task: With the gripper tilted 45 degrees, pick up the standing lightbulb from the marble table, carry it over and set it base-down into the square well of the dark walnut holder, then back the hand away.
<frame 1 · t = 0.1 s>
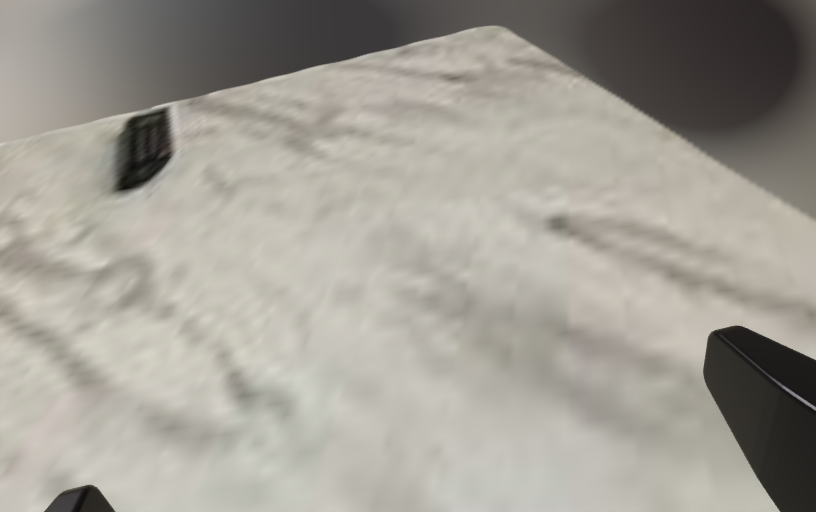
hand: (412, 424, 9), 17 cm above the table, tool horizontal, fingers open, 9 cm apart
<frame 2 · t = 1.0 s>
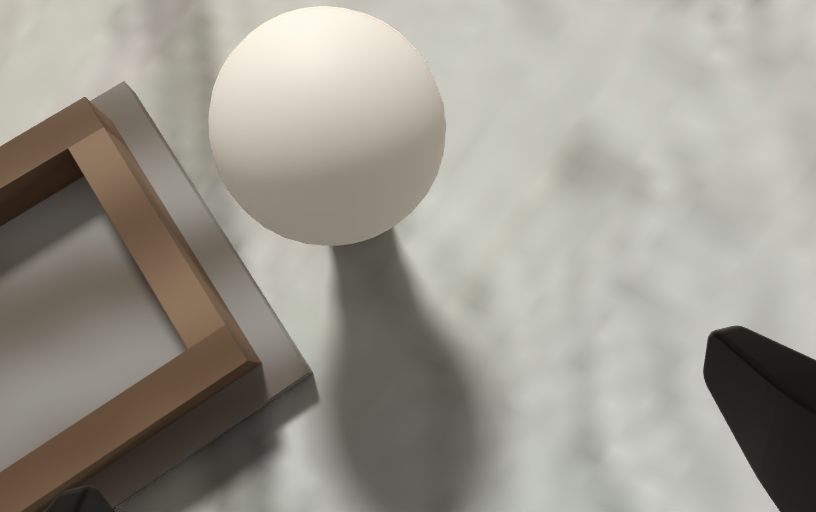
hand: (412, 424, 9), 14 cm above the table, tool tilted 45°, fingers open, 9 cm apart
lightbulb: (356, 215, 24), on the table
socket holder: (64, 324, 23), on the table
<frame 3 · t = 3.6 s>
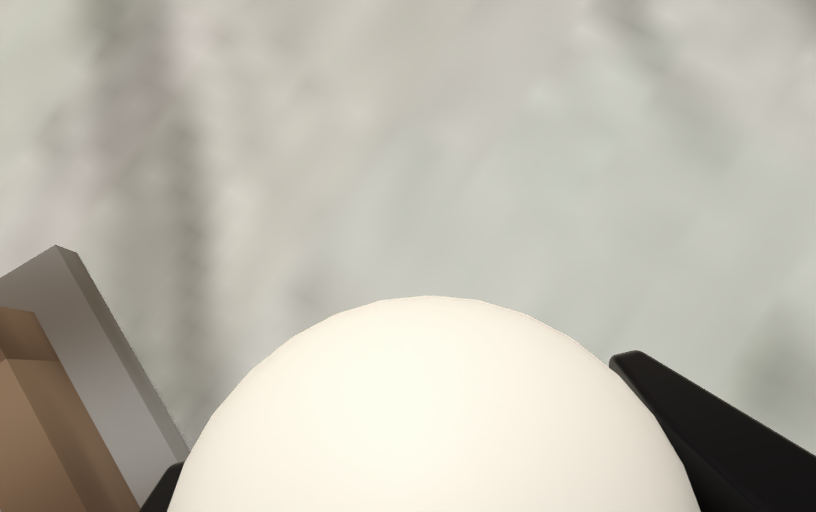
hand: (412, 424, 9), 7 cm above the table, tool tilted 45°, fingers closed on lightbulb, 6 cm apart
lightbulb: (424, 461, 15), on the table, touching gripper
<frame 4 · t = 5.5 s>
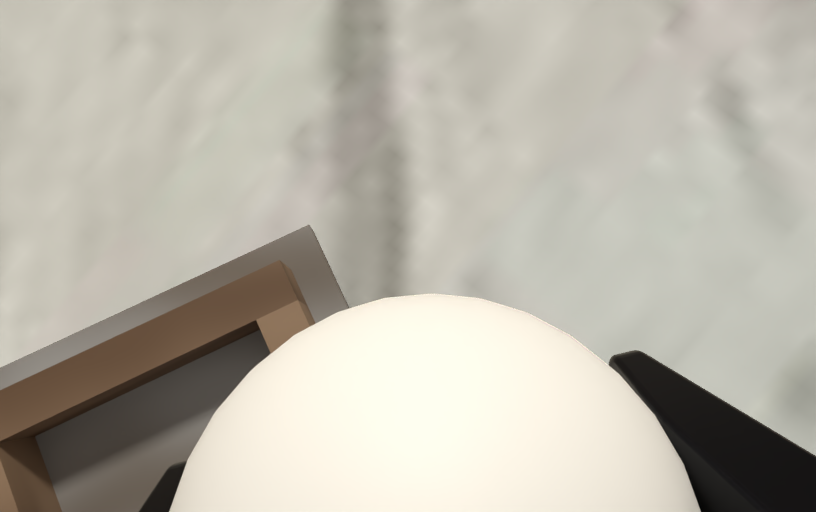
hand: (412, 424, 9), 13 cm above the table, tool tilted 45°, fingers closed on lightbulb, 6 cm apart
lightbulb: (429, 457, 15), point 6 cm above the table, touching gripper
socket holder: (212, 493, 21), on the table
when the fingers open (9 cm above the table, at t = 7.3 s): lightbulb drops 1 cm, resting on socket holder.
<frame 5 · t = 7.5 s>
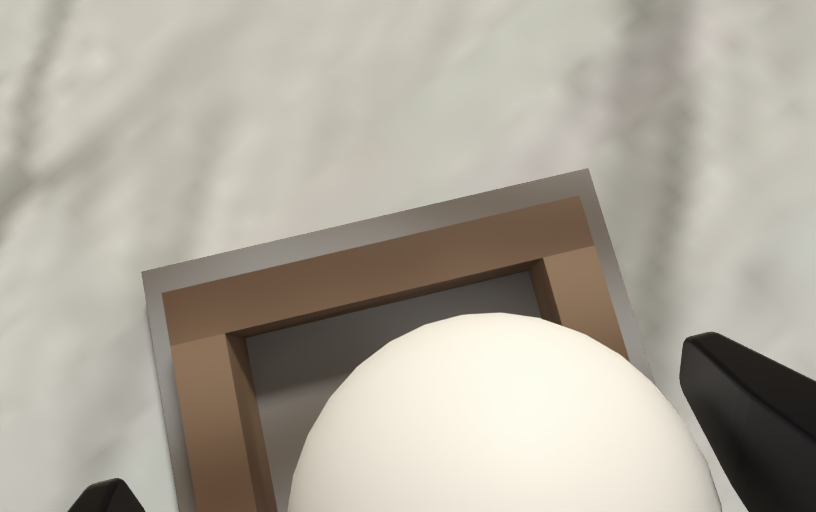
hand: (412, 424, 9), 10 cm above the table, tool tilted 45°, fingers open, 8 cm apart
lightbulb: (433, 453, 17), point 1 cm above the table, touching socket holder
socket holder: (421, 447, 18), on the table
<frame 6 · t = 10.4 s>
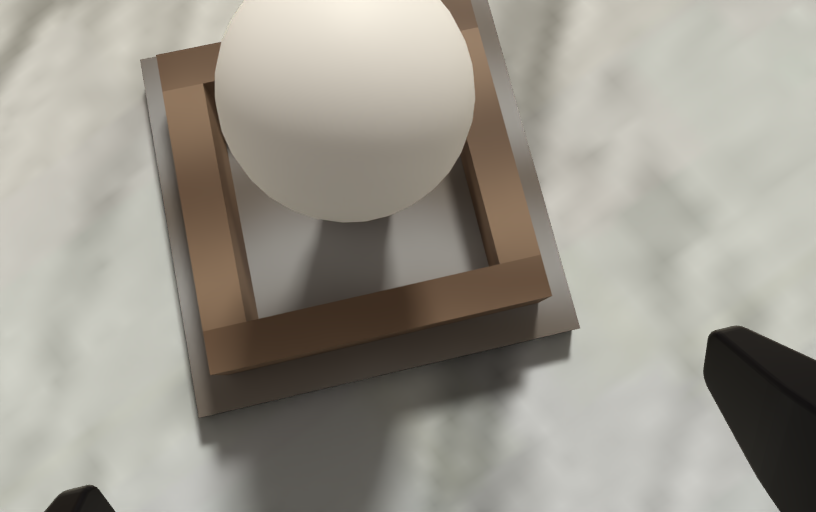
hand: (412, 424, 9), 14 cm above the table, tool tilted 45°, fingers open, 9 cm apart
lightbulb: (360, 192, 23), point 1 cm above the table, touching socket holder
socket holder: (353, 196, 24), on the table
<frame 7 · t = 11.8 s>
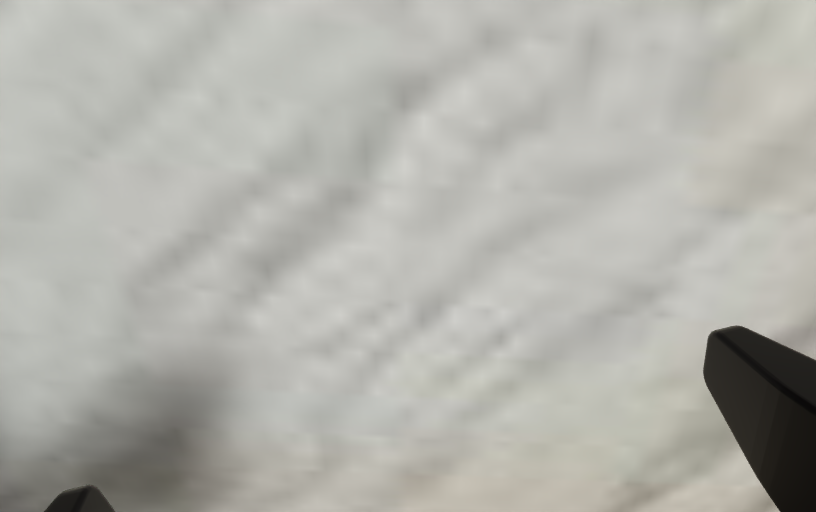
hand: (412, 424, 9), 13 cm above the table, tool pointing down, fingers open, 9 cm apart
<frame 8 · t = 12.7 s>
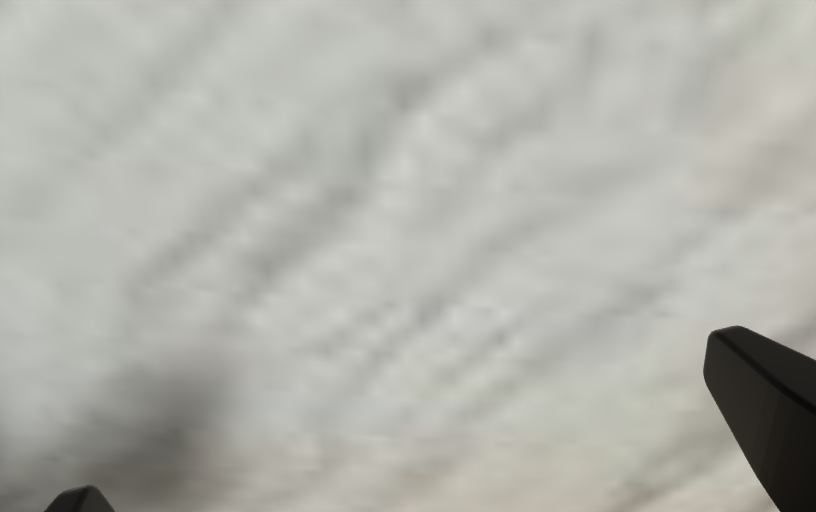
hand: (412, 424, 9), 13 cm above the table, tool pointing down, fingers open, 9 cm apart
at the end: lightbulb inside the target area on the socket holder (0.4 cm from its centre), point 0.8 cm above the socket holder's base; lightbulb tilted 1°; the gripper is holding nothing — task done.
